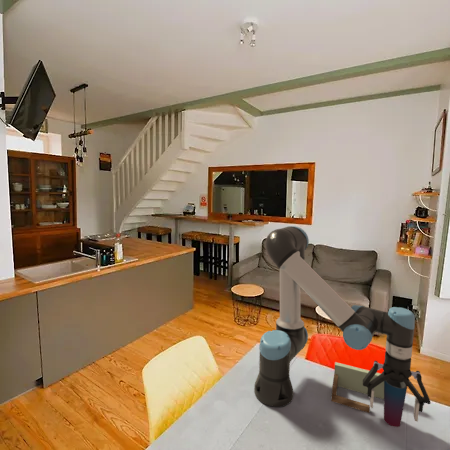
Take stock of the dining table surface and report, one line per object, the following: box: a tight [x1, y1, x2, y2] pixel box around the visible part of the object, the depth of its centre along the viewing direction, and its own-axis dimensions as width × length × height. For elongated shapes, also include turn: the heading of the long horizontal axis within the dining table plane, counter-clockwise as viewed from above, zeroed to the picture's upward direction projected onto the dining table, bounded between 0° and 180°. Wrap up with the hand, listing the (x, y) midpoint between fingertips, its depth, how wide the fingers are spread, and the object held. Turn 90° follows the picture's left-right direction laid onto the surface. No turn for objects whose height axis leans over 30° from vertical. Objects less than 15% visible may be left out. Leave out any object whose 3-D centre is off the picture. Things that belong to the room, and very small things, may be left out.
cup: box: [383, 378, 408, 428], centre depth 97 cm, size 7×7×15 cm
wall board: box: [333, 361, 384, 400], centre depth 111 cm, size 24×2×9 cm, turn 64°
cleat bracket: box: [330, 373, 371, 414], centre depth 109 cm, size 13×10×5 cm
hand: (392, 411), depth 98 cm, fingers open, 12 cm apart
